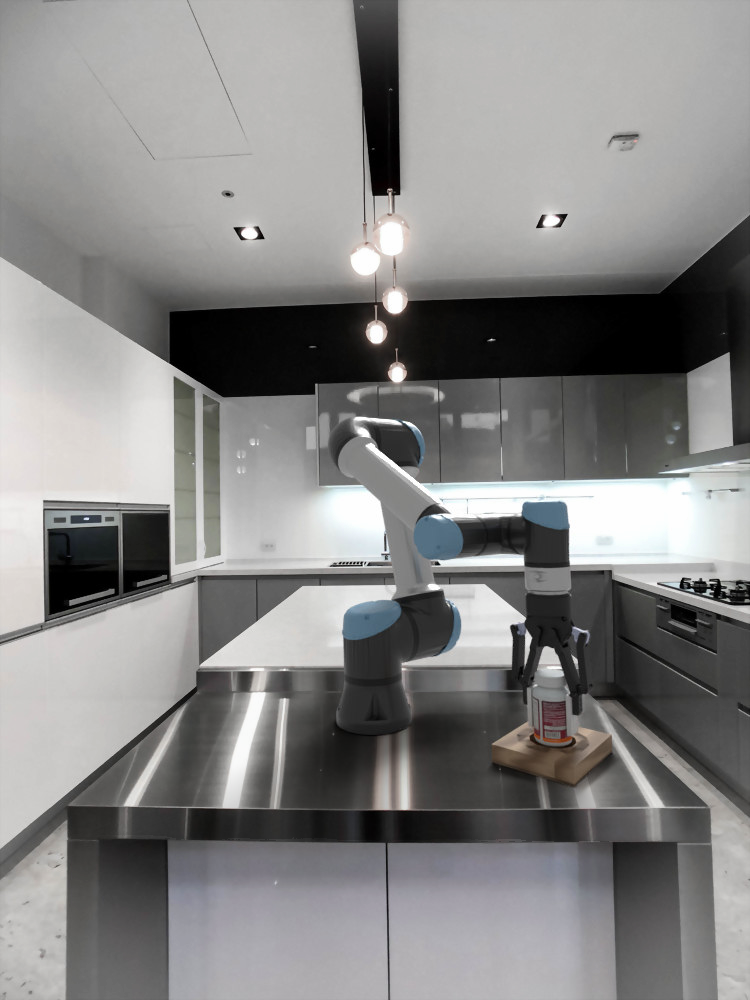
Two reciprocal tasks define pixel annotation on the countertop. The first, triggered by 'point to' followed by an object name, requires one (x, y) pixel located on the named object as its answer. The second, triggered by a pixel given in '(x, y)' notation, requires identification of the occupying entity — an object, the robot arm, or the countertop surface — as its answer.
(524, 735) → the socket block
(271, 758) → the countertop surface
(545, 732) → the pill bottle
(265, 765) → the countertop surface
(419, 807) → the countertop surface
